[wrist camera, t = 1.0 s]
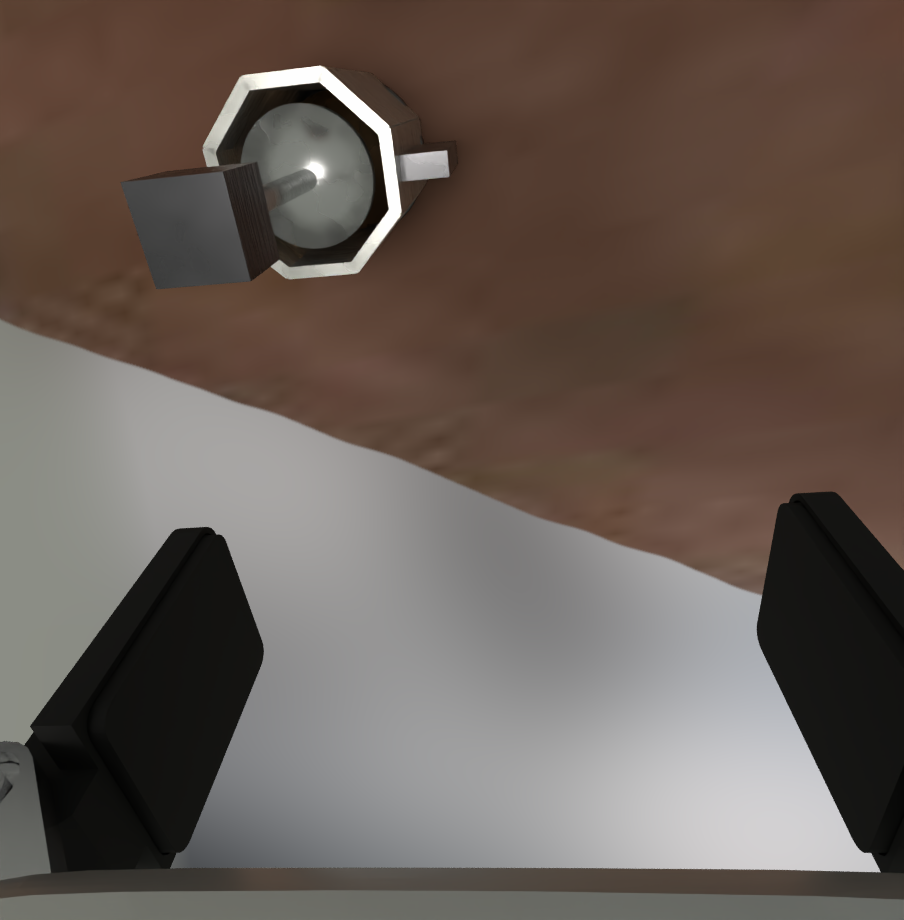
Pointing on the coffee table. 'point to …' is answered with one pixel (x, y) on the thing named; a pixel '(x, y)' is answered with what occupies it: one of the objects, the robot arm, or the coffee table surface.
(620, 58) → the coffee table surface
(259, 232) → the plunger
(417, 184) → the press carafe
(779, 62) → the coffee table surface
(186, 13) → the coffee table surface
